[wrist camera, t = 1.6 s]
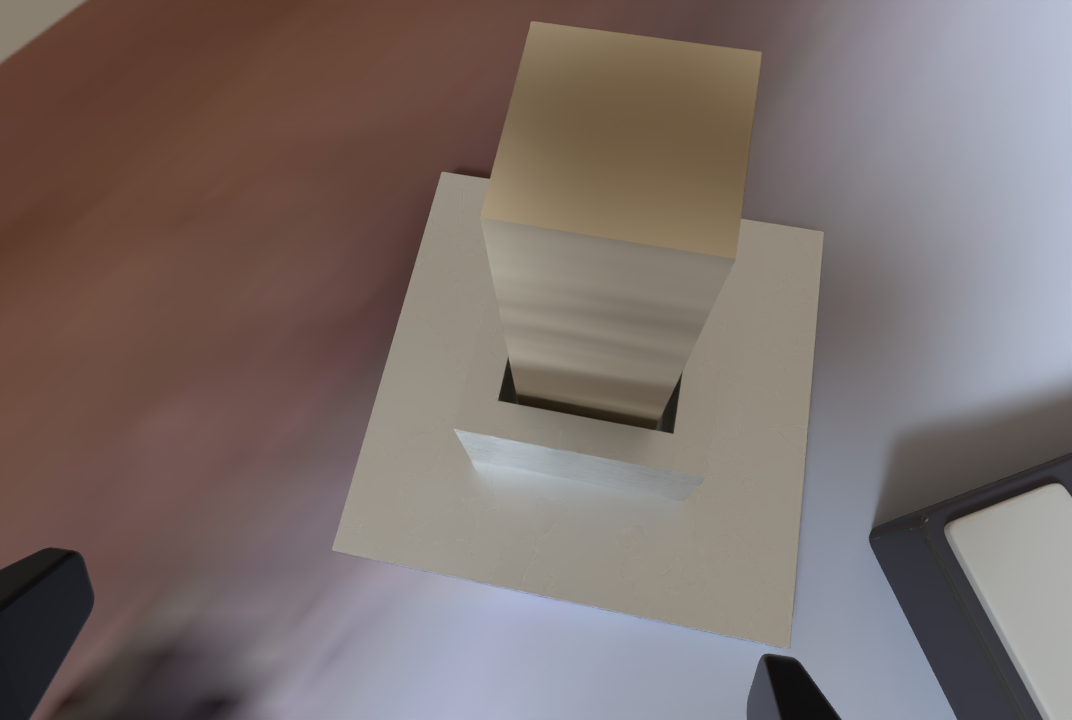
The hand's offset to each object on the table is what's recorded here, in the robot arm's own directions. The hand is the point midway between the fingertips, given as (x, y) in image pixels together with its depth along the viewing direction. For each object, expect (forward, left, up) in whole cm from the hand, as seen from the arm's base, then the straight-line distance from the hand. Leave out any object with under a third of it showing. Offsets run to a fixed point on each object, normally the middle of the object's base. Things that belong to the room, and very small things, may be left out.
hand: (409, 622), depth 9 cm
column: (+2, -8, -13) cm, 15 cm away
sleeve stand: (+2, -8, -14) cm, 16 cm away
